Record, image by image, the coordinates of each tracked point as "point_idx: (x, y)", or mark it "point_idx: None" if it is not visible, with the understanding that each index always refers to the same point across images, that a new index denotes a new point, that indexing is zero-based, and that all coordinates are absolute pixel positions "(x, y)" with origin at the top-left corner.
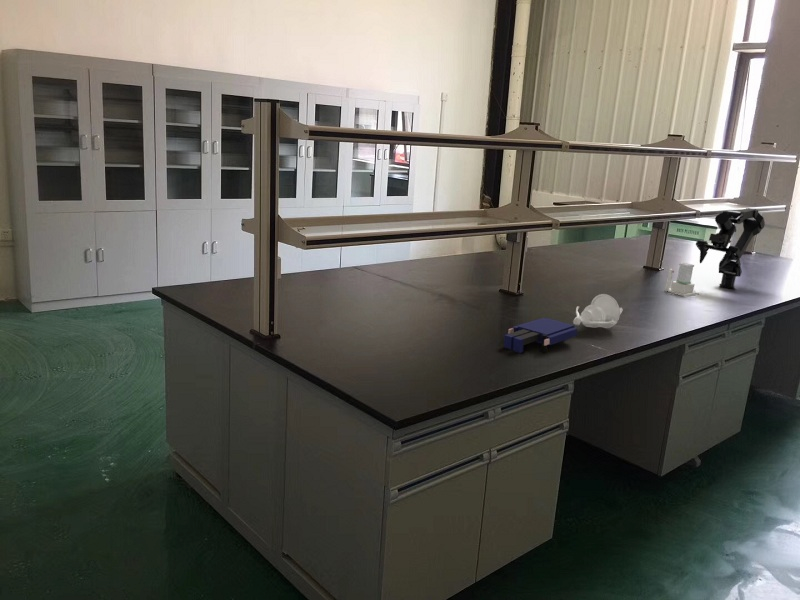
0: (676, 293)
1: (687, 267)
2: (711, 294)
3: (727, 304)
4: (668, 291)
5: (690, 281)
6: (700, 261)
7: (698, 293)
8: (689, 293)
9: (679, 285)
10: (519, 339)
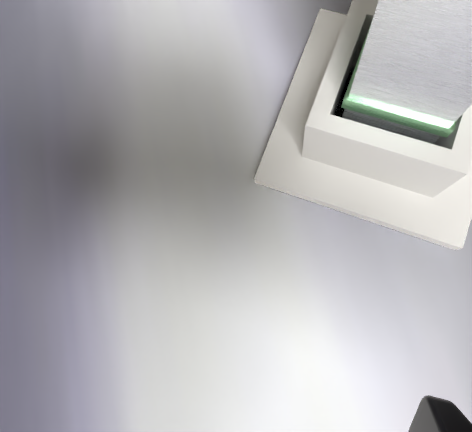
0: None
1: None
2: (180, 290)
3: (36, 66)
4: None
5: (349, 96)
6: (434, 404)
7: (258, 169)
8: (307, 83)
9: None
10: None
